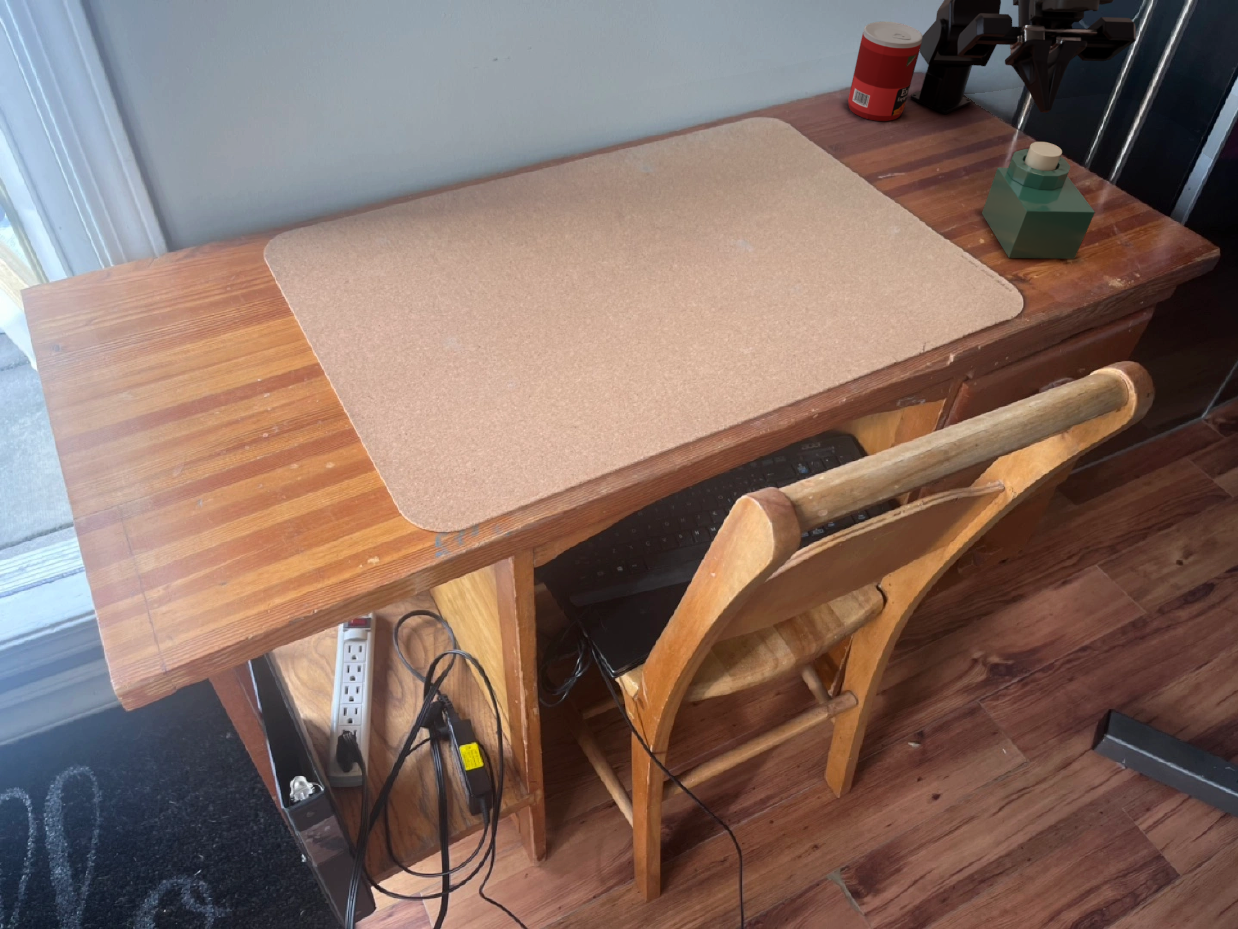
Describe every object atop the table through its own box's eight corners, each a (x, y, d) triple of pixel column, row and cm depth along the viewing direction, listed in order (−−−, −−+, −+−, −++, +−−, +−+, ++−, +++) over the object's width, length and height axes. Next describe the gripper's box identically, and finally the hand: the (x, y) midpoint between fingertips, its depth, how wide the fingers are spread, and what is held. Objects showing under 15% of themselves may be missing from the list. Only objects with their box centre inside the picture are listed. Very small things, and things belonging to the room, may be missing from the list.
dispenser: (978, 208, 122) (998, 147, 117) (1040, 209, 123) (1063, 149, 117) (1008, 258, 114) (1032, 196, 109) (1074, 259, 115) (1101, 197, 109)
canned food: (902, 125, 138) (923, 46, 130) (845, 117, 139) (863, 38, 131) (902, 102, 143) (922, 25, 136) (847, 94, 144) (864, 17, 136)
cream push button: (1019, 157, 116) (1025, 141, 115) (1049, 157, 116) (1055, 141, 115) (1030, 172, 114) (1036, 155, 112) (1060, 172, 114) (1067, 156, 113)
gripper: (998, -65, 105) (999, 81, 105) (1165, -59, 106) (1167, 85, 106) (955, -13, 116) (956, 119, 116) (1106, -8, 117) (1108, 122, 117)
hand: (1045, 111), depth 113 cm, fingers closed
